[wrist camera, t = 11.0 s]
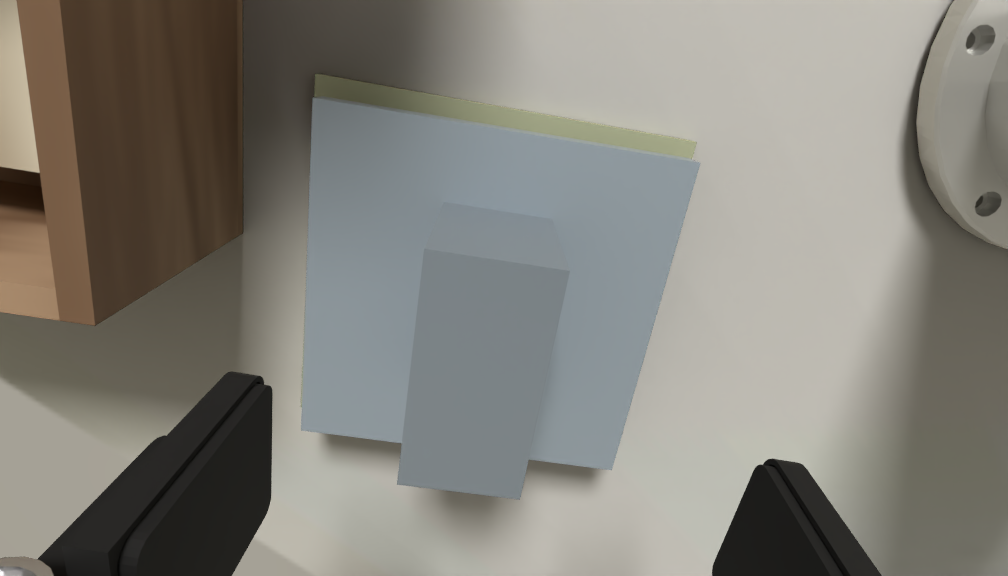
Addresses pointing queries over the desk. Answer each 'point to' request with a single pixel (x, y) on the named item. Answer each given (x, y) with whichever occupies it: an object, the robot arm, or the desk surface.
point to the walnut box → (115, 148)
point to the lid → (480, 290)
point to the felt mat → (495, 118)
